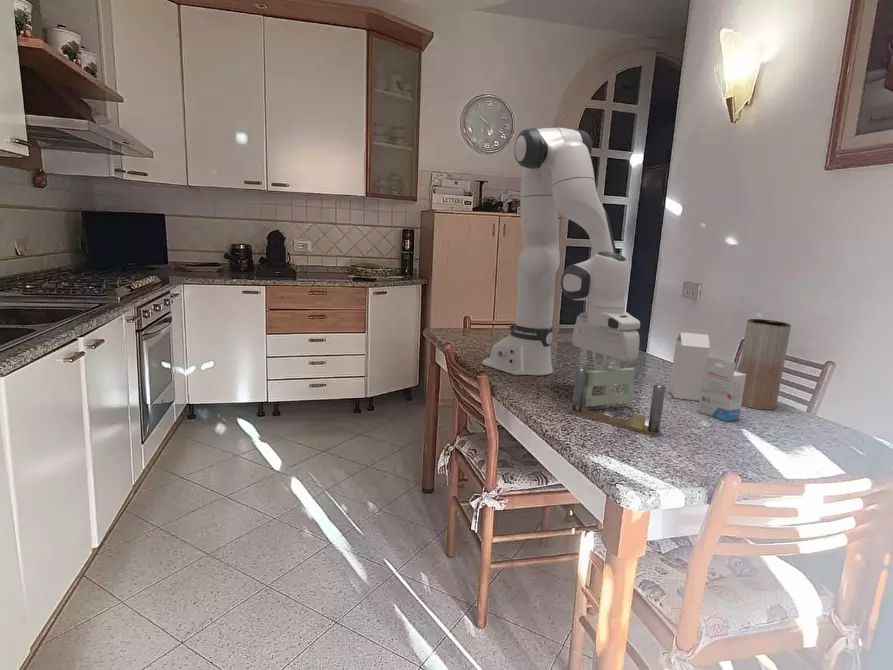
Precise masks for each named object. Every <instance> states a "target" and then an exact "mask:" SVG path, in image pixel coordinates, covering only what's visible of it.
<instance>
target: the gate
mask: <svg viewBox="0 0 893 670" xmlns="http://www.w3.org/2000/svg"><path fill="white" fill-rule="evenodd" d="M635 376H636V368H634V367H627V368H626V367H624V368H613V369H612V368H611V369H608V370H586V377H585V386H584V395H583V404H582V407H585V408H587V407H593V406H595V407H596V406H602V405H604V406H605V405H610V404H611V405H612V404H620V403H629V402H632V401H633V400H632V399H633V392H634V385H635ZM621 384H624V389H623V392H618V393H613V386H614V385H621ZM600 386H602V387H603V386H605V390H604V394H599V395H593V387H600Z"/></svg>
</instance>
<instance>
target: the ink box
mask: <svg viewBox="0 0 893 670" xmlns="http://www.w3.org/2000/svg"><path fill="white" fill-rule="evenodd" d="M717 363H718V364H721V365H724V366H721V365H717ZM736 366H737V365H736V362H733V361H729V360H726V359H723V358H722V359H721V358H718V357H715V356H710V355H709V356H707V357H706V364H705V368H704V374H703V381H702V388H701V394H700V401H698V402H699V403H698V408H697V411H698V412H700V413H703V414H705V415H708V416H711V417H713V418H716V419H718V420H721V421H724V422H732V421H739V420H740V415H741V408H742V405H741V403H742V397H743V391H744V385H745V379H746V374H743V373H739V371H735V370H736Z"/></svg>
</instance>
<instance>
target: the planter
mask: <svg viewBox="0 0 893 670" xmlns="http://www.w3.org/2000/svg"><path fill="white" fill-rule="evenodd" d="M791 328H792V325H791V324H790V323H788V322H784V321H779V320H771V319H760V318H750V319H747V321H746V327H745V333H744V340H743V346H742V350H741V357H740V362H739V363H740V364H739V367H738V368H739V369H738V372H739V373H743V374H746V379H745V385H744V391H743V397H742V403H741V406H743V407H747V408H751V409H755V410H764V411H767V410H768V411H771V410H774V409H776V408H777V403H778V398H779V393H780V388H781V387H780V386H781V383H782V377H783V372H784V367H785V362H786V355H787V350H788V349H787V348H788V345H789V340H790V339H789V338H790V334H791Z"/></svg>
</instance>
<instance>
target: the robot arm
mask: <svg viewBox="0 0 893 670" xmlns="http://www.w3.org/2000/svg"><path fill="white" fill-rule="evenodd" d="M515 139H516V140H515V143H514V157H515V160H516V161H517V162H516V163H518V164H519V166H521V167H523V168H522V174H521V179H520V182H521V183H520V193H519V195H520V197H519V198H520V204H519V206H520V228H521V234H522V243H523V244H522V245H523V249H522V250H521V252H520V253H519V256H518V258H517V271H516V273H517V275H516V276H517V285H516V288H517V304H516V306H517V307H516V318H515V323H513V324H511V325H509V326H508V325H507V330H508V331H509V330H510V333H509V334H508V335H507V336H506V337H504V338H502V339H501V340H500V341H497V342H496V343H494V345H492V348H491V350H490V354H489V357H487V358H485V359H483V360H482V365H484V366H486V367H490V368H493V369H496V370H499V371H503V372H504V373H508V374H512V375H514V376H523V375H524V376H526V375H528V376H546V375H550V374H553V372H554V371H553V365H552V357H551V356H552V354H551V353H552V352H551V345H552V341H553V331H554V327H553V317H554V316H553V315H554V309H555V307H554V305H555V276H556V275H555V274H556V273H557V271H558V270H559V267H560V264H561V258H560V257H561V256H560V253H561V252H560V235H559V233H560V232H559V213H560V215H561V216H563V217H564V218H566V219H568V220H569V221H572V222H574V223H576V224H577V225H578V226H579V227H581V228H582V229H583V230H584V231H585V233H586V234H587V235H588V238H589V240H590V245H591V249H592V255H593V256H592V257H590V258H589V259H587V260H585V261H581V262H578V263H575V264H570V265H568V266H567V267H566V268H565V269H564V271H563V273H562V275H561V278H560V279H561V280H560V287H561V291H562V292H563V294H564V295H565V297H567V298H568V299H569V300H573V301H588V311H587V313H586V312H580V314H578V315H577V317H576V321H575V324H574V327H573V332H572V338H571V342H572V346H573V347H575V348H578V349H582V350H586V351H589V352H592V354H591V355H592V358H593V359H592V360H593V362H594V370H595V371H597V370H609V365H610V363H611V362H612V361H613V359H616V360H620V361H624V362H632V361H633V362H634V361H636V360H637V359H638V357H639V353H640V334H639V331H638V330H639V329H640V328H641V322H640V320H639V319H637V318H636V317H634V316H632V315H631V314H630V313H629V312H627V311H626V302H625V296H626V293H627V290H628V283H629V282H628V281H629V266H628V265H629V264H628V260H627V258H626V257H625V256H623V254H620V253H618V252H617V250H616V245H615V244H616V243H615V240H614V235H613V231H612V230H613V229H612V228H611V222H610V218H609V215H608V212H607V210H606V208H605V207H604V206H603V204H602V201H601V199H600V197H599V194H598V191H597V186H596V179H595V172H594V166H593V165H594V164H593V162H592V157H591V156H592V152H593V141H592V138H591V136H590V134H589V133H588V132H586V131H584V130H581V129H577V128H574V129H572V128H571V129H570V128H567V127H542V128H536V127H532V128H531V127H530V128H527V129H524V130H521V131H520V132H519V134H518V136H517V137H516V138H515Z"/></svg>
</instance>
